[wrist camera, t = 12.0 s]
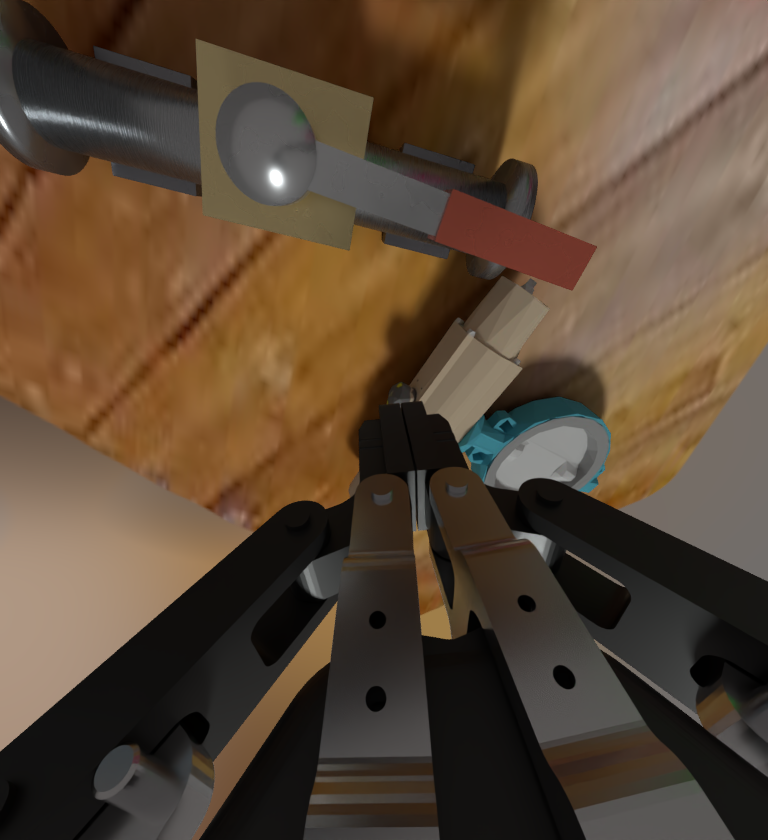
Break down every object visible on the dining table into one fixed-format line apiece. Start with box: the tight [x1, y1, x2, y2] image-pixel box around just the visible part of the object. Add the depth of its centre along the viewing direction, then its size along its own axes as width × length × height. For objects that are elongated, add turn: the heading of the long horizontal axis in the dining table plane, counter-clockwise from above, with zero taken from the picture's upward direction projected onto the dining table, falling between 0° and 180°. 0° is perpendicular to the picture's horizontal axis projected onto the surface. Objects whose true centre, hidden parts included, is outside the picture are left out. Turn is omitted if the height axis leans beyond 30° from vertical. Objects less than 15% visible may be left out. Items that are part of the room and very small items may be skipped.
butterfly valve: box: [349, 276, 611, 497], centre depth 37 cm, size 27×7×30 cm
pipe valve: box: [0, 0, 538, 280], centre depth 20 cm, size 28×7×10 cm, turn 77°
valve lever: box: [215, 82, 597, 290], centre depth 16 cm, size 18×4×2 cm, turn 73°
